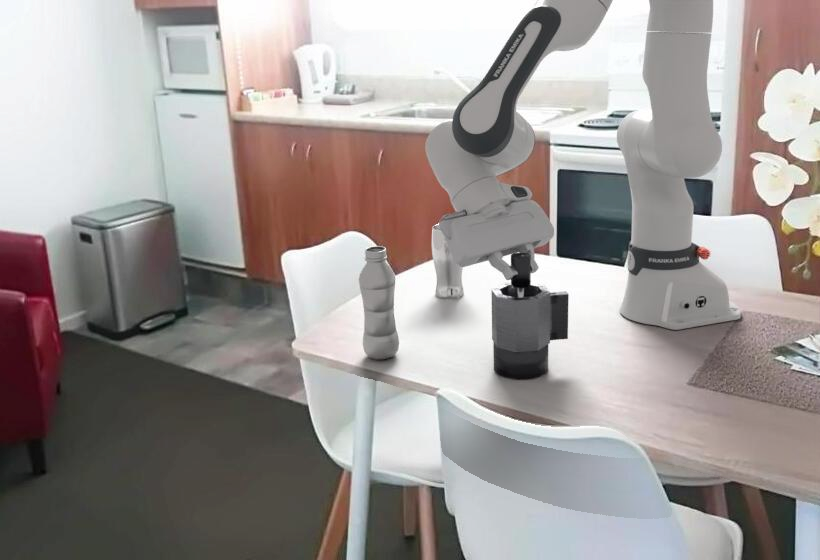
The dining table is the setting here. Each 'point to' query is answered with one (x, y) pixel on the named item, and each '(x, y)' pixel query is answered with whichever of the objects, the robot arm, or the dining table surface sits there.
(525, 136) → the robot arm
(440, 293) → the beer glass
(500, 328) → the press carafe
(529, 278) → the plunger
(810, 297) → the dining table surface
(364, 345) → the plastic bottle
